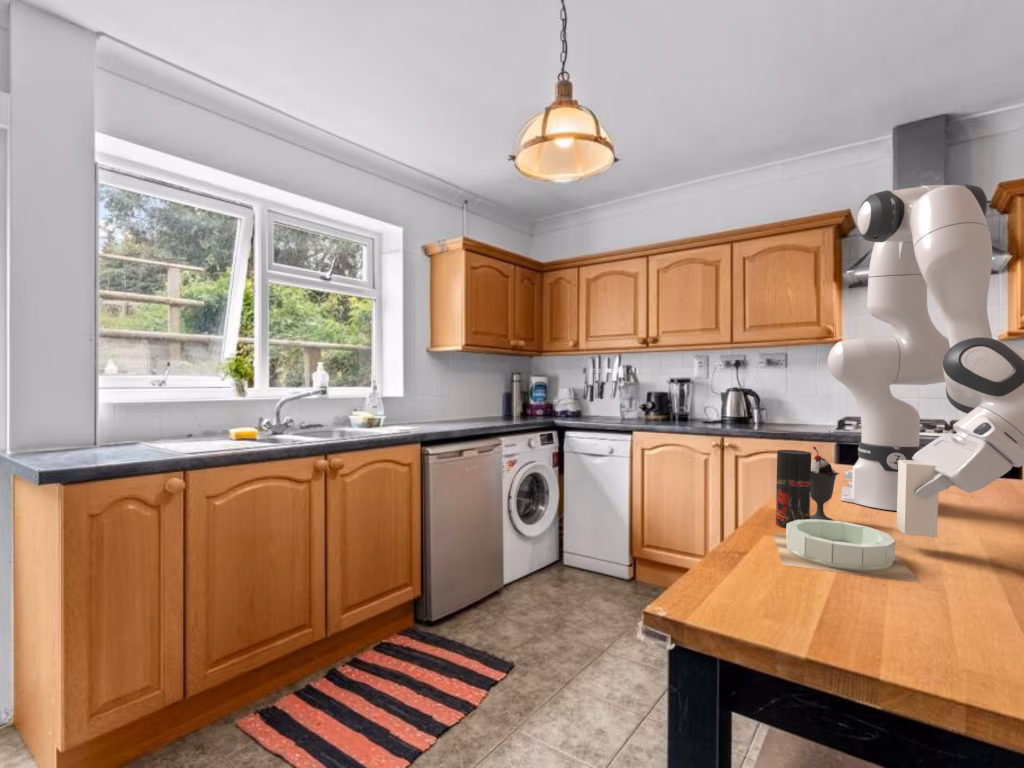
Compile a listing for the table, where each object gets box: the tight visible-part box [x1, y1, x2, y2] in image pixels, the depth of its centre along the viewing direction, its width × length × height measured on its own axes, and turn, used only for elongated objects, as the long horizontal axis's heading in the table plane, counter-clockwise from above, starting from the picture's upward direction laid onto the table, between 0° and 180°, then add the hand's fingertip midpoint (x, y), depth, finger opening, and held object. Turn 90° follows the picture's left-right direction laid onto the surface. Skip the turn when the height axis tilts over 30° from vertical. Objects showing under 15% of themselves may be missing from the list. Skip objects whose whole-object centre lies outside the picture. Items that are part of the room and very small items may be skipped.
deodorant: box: [775, 449, 812, 530], centre depth 106 cm, size 6×6×15 cm
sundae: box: [810, 446, 840, 521], centre depth 112 cm, size 7×7×15 cm
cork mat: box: [772, 532, 922, 584], centre depth 89 cm, size 18×18×1 cm
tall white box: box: [896, 460, 939, 538], centre depth 92 cm, size 4×4×12 cm
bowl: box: [785, 519, 896, 571], centre depth 89 cm, size 15×15×4 cm
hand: (912, 491), depth 92 cm, fingers closed on tall white box, 4 cm apart
